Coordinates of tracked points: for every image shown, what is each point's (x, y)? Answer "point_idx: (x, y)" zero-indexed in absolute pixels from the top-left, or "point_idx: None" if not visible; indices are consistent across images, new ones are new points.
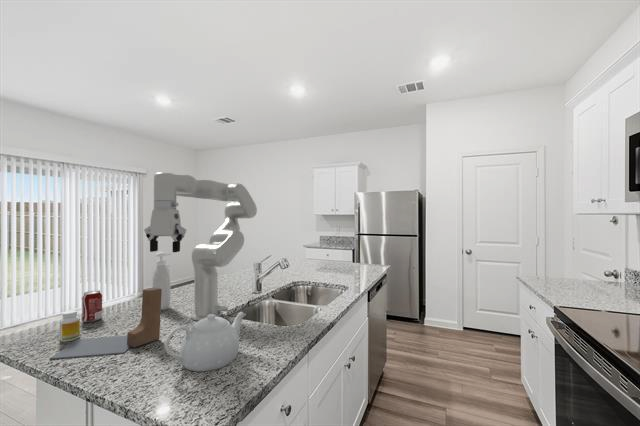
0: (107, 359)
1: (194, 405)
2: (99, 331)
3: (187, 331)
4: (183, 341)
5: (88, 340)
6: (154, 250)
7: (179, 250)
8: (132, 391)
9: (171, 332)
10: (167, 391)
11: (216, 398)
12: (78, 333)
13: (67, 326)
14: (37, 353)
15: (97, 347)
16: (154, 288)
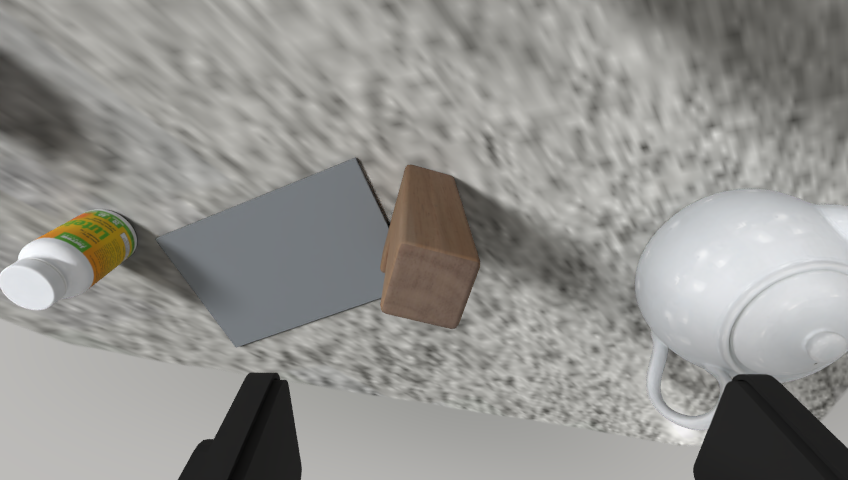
0: (399, 317)
1: None
2: (132, 157)
3: None
4: (686, 356)
5: (204, 242)
6: (293, 442)
7: (773, 390)
8: (583, 402)
9: (693, 429)
10: (661, 391)
11: None
12: (121, 231)
13: (96, 282)
14: (152, 326)
15: (297, 276)
16: (433, 275)
